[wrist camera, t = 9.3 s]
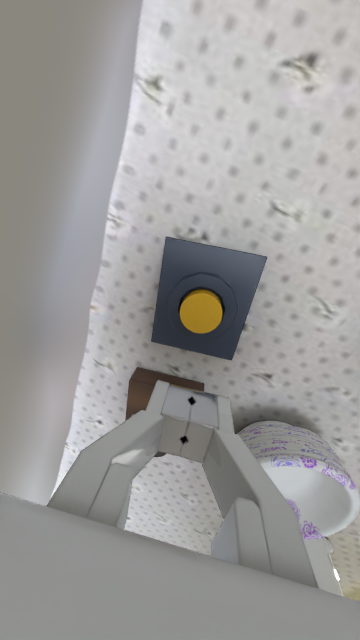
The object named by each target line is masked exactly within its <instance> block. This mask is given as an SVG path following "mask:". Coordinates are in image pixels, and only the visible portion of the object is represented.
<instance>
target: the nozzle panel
mask: <svg viewBox="0 0 360 640" xmlns="http://www.w3.org/2000/svg"><path fill="white" fill-rule="evenodd" d="M158 380H160V381H163V382H167V383H172V384H175V385H179V386H183V387H186V388H190V389H194V390H198V391H202V392H204V383H200V382H196V381H191V380H187V379H183V378H179V377H175V376H171V375H167V374H163V373H159V372H155V371H151V370H147V369H143V368H139V367H137V368H136V370H135V372H134V373H133V375H132V377H131V379H130V380H129V389H128V400H127V410H126V420H128V419H129V418H130V417H132V416H133V415H135V414H136V413H138V412H139V411H141V410H144V411H146V408H147V406H148V403H149V400H150V398H151V395H152V393H153V390H154V388H155V385H156V382H157V381H158ZM126 420H125V421H126Z"/></svg>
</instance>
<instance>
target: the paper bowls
mask: <svg viewBox="0 0 360 640" xmlns="http://www.w3.org/2000/svg"><path fill="white" fill-rule="evenodd" d="M237 435H239V436H240V438H241V439H242V440H243V442H244V443H245V444H246V446H247V447H248V448H249V450H250V451H251V453H252V454H253V455H254V457H255V458H256V459H257V461H258V462H259V464H260V465H261V466H262V468H263V469H264V470H265V472H266V473H267V474H268V476H269V477H270V479H271V480H272V481H273V483H274V484H275V485H276V487H277V488H278V489H279V491H280V492H281V494H282V495H283V496H284V498H285V499H286V500H287V502H288V503H289V505H290V506H291V507H292V509H293V510H294V512H295V515H296V518H297V521H298V524H299V527H300V530H301V534H302V537H303V540H312V539H319V538H323V537H327V536H330V535H332V534H334V533H337V532H339V531H341V530H343V529H344V528H346V527H347V526H349V525H350V524H351V523H352V522H353V521H354V520H355V518H356V517H357V515H358V513H359V511H360V495H359V491H358V489H357V487H356V485H355V484H354V483H353V481H352V478H351V477H350V476H349V474H348V473H347V471H346V469H345V468H344V466H343V465H342V463H341V461H340V459H339V458H338V456H337V455H336V453H335V452H334V450H333V449H332V448H331V446H330V445H329V444H328V442H326V441H325V440H324V439H322V437H321V436H319V435H317V434H315V433H314V432H312V431H309V430H307V429H304V428H301V427H297V426H293V425H290V424H287V423H284V422H279V421H261V422H256V423H253V424H251V425H249V426H247V427H245V428H244V429H243V430H241V431H240V432H239V433H237Z"/></svg>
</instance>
